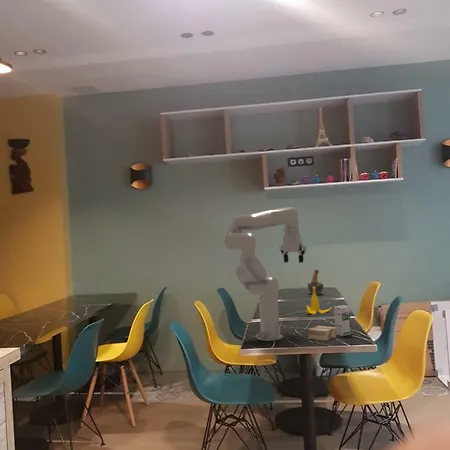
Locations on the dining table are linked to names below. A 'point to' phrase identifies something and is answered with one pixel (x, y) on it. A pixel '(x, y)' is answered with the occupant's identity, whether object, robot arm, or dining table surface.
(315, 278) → the mortar and pestle
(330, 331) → the beech block
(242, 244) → the robot arm
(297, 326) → the dining table surface
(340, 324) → the syrup box
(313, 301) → the banana peel
